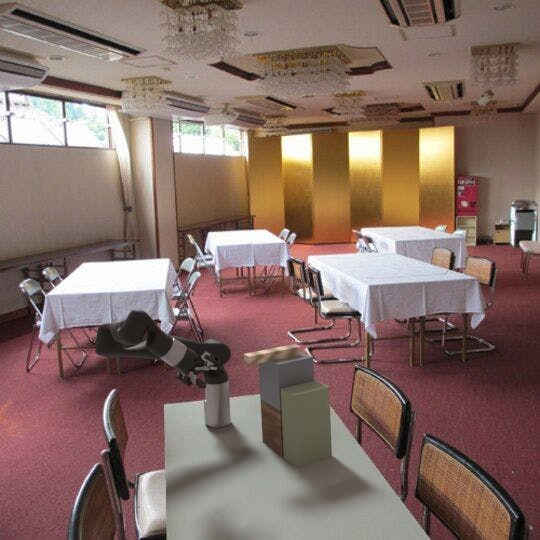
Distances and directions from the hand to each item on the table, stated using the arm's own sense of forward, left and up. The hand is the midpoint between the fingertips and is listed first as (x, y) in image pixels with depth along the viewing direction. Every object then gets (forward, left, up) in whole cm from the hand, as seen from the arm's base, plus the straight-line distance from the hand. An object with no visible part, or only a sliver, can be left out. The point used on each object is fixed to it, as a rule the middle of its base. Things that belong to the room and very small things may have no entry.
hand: (214, 379), depth 184 cm
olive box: (+24, +16, -29) cm, 42 cm away
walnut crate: (+15, +23, -29) cm, 40 cm away
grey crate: (+15, +23, -13) cm, 31 cm away
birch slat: (+12, +19, +3) cm, 23 cm away
